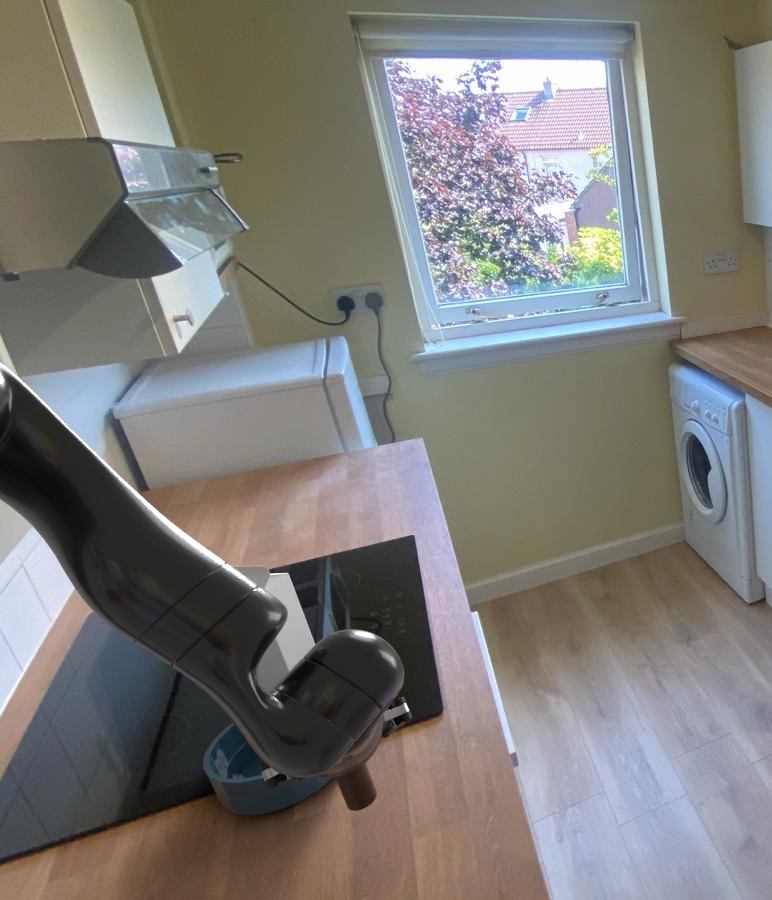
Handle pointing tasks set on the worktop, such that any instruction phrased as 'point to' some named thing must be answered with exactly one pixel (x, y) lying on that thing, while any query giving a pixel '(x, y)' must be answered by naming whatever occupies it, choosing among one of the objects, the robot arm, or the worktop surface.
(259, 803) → the bowl
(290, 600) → the milk
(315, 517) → the worktop surface
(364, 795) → the brown tall cylinder
